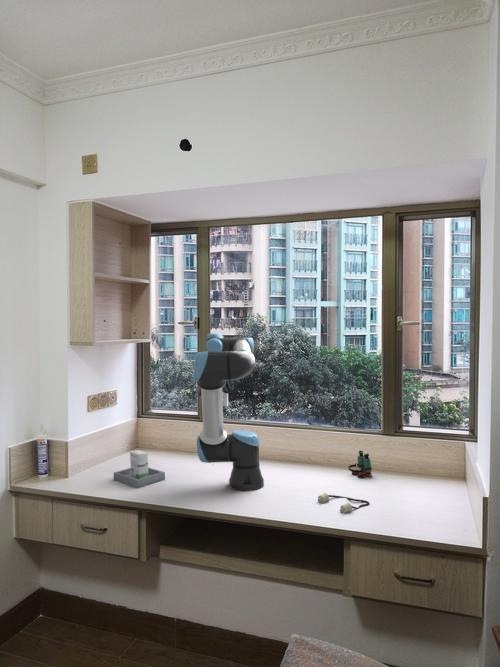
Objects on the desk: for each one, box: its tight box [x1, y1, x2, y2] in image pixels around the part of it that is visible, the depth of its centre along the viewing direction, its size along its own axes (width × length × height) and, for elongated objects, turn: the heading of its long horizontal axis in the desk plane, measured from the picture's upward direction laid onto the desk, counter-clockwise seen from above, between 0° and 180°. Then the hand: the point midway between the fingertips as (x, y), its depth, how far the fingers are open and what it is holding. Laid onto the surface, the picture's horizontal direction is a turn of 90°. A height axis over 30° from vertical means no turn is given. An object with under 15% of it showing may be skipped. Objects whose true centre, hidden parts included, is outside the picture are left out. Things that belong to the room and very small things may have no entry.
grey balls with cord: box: [317, 492, 371, 514], centre depth 204 cm, size 16×16×4 cm
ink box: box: [129, 449, 149, 479], centre depth 238 cm, size 9×5×12 cm, turn 40°
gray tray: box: [113, 466, 166, 489], centre depth 238 cm, size 18×15×4 cm
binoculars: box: [347, 450, 373, 479], centre depth 238 cm, size 9×11×10 cm
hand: (216, 408), depth 256 cm, fingers open, 13 cm apart
